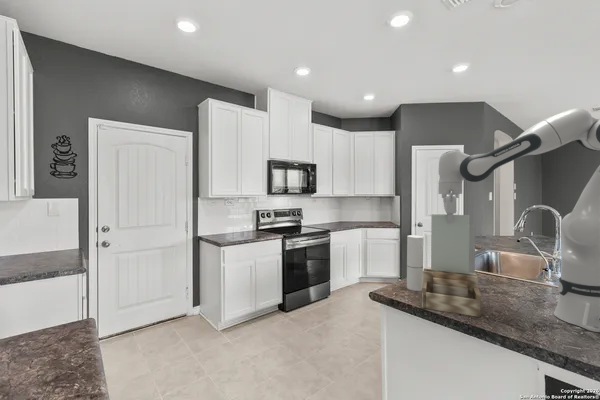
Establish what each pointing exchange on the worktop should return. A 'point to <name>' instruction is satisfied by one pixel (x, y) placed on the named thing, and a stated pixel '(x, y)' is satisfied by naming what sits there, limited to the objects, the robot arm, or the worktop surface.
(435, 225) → the grey green flat block
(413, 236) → the cylindrical container
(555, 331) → the worktop surface
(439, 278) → the offcut boards
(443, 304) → the box
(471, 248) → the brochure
